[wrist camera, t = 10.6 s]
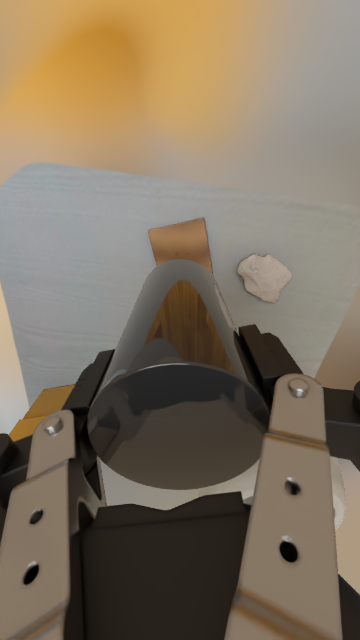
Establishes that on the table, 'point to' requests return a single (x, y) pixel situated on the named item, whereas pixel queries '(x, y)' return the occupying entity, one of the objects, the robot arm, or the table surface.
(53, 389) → the chest
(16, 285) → the table surface
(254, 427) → the dark grey cylinder
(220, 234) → the table surface
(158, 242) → the pad
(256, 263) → the decorative stone
